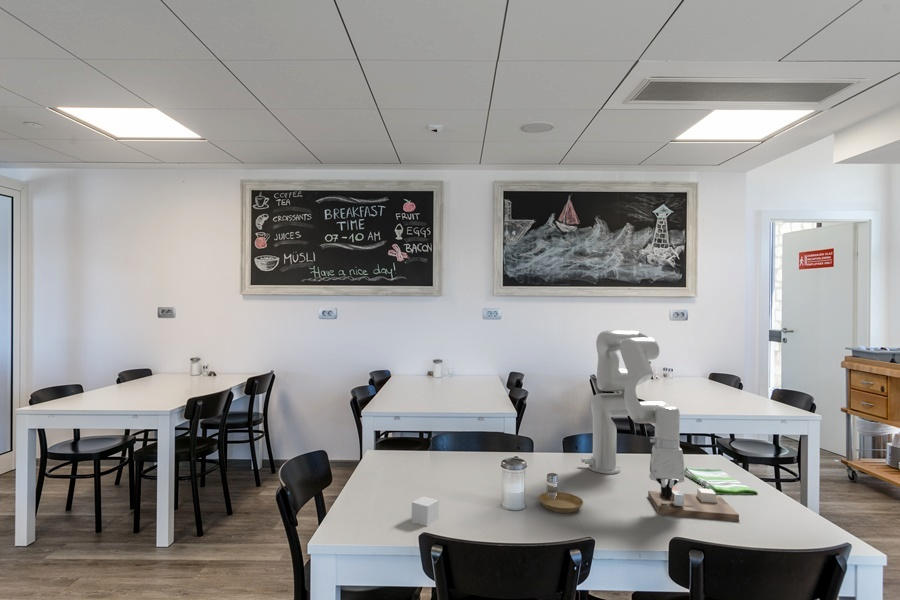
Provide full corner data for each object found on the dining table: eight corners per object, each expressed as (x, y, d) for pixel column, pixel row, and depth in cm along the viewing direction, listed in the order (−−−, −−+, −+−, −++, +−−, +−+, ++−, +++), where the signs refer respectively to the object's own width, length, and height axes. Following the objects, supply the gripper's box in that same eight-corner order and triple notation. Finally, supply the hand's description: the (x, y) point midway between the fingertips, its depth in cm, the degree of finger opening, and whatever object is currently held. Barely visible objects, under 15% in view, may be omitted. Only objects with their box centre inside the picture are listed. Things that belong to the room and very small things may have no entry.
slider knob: (674, 505, 162) (674, 494, 162) (671, 501, 166) (671, 490, 166) (684, 506, 162) (684, 495, 162) (680, 501, 166) (680, 490, 166)
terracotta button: (664, 498, 170) (664, 489, 170) (660, 493, 174) (660, 485, 174) (678, 499, 169) (678, 490, 169) (674, 494, 173) (674, 486, 173)
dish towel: (722, 475, 204) (722, 466, 204) (759, 496, 181) (759, 486, 181) (681, 475, 203) (681, 466, 203) (713, 496, 180) (713, 486, 180)
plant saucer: (529, 502, 170) (530, 494, 170) (565, 496, 176) (565, 489, 176) (555, 519, 156) (555, 510, 156) (592, 512, 162) (592, 504, 162)
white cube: (427, 526, 149) (427, 506, 149) (411, 521, 152) (411, 502, 152) (438, 519, 154) (438, 500, 154) (422, 515, 157) (423, 496, 157)
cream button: (701, 501, 168) (701, 492, 168) (697, 496, 172) (697, 488, 172) (716, 502, 167) (716, 493, 167) (711, 497, 171) (711, 489, 171)
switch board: (659, 514, 161) (659, 507, 161) (648, 496, 177) (648, 490, 177) (738, 521, 157) (739, 514, 157) (720, 502, 173) (720, 496, 173)
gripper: (645, 444, 163) (645, 500, 162) (694, 447, 160) (693, 504, 160) (641, 438, 170) (640, 492, 170) (687, 441, 167) (687, 496, 167)
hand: (666, 498), depth 165 cm, fingers closed
